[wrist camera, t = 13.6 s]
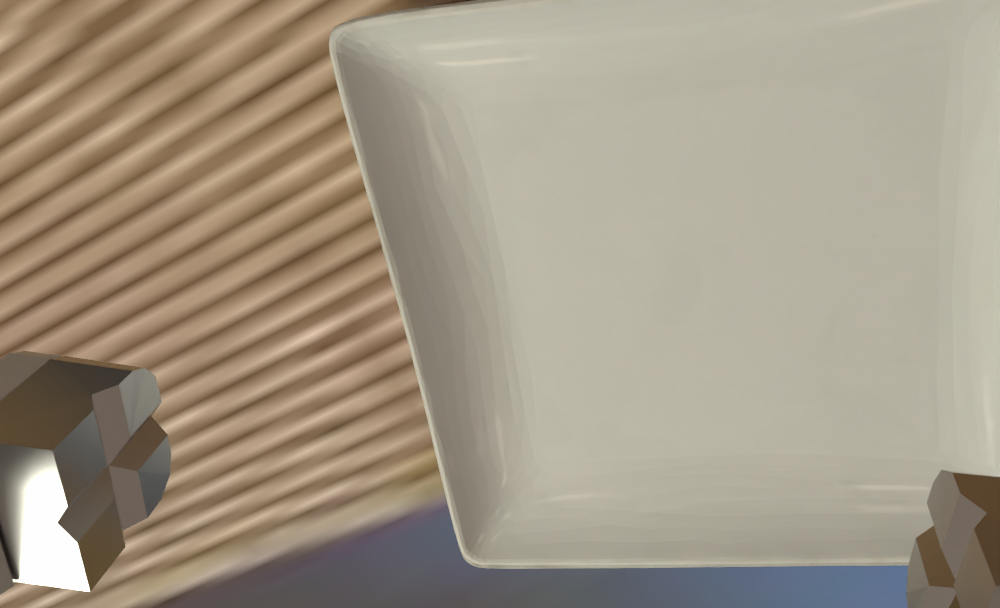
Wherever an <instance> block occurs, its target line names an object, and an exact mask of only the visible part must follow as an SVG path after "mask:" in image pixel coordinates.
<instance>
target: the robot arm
mask: <svg viewBox="0 0 1000 608" xmlns="http://www.w3.org/2000/svg"><path fill="white" fill-rule="evenodd" d="M160 403H161V398H160V394H159V389H158V385H157V381H156V377H155V376H154V375H153V374H152V373H150V372H149V371H148V370H146V369H145V368H141V367H134V366H128V365H121V364H114V363H107V362H101V361H94V360H87V359H81V358H74V357H67V356H63V357H61V356H58V355H52V354H44V353H36V352H29V351H21V352H14V353H9V354H8V355H6V356H5V357H4V358H2V359H1V360H0V594H1V593H3V592H5V591H6V590H8V589H10V588H11V587H13V586H14V582H13V581H15V582H22V583H29V584H37V585H44V586H51V587H59V588H66V589H73V590H80V591H88V592H90V591H91V590H92V589H93V587H94V586H95V585H96V584H97V582H98V581H99V580H100V578H101V577H102V576H103V575H104V573H105V572H106V571H107V569H108V568H109V567H110V566H111V564H112V563H113V562H114V560H115V559H116V558H117V557H118V555H119V554H120V553H121V552H122V550H123V549H124V548H125V541H124V534H123V530H125V529H127V528H129V527H130V526H132V525H134V524H136V523H138V522H140V521H142V520H144V519H146V518H148V517H149V515H150V514H151V512H152V511H153V510H154V508H155V507H156V506H157V504H158V503H159V501H160V500H161V498H162V495H163V492H164V490H165V487H166V484H167V481H168V478H169V475H170V462H171V451H170V445H169V440H168V435H167V434H166V433H165V431H164V430H163V429H162V428H161V427H160V426H159V425H158V423H157V422H156V421H155V420H154V419H153V418H152V415H153V414H154V412H155V411H156V409H157V408H158V406H159V405H160ZM927 505H928V508H929V511H930V515H931V518H932V521H933V524H934V526H932V527H931V528H929V529H928V530H927V531H925V532H924V533H922V534H921V535H919V536H918V537H916V539H915V543H914V546H913V550H912V554H911V557H910V561H909V565H908V578H907V591H906V594H907V604H908V608H1000V476H993V475H984V474H975V473H967V472H958V471H950V470H941V471H940V473H939V474H938V476H937V477H936V479H935V480H934V482H933V485H932V488H931V491H930V494H929V497H928V500H927Z"/></svg>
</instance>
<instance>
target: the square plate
mask: <svg viewBox="0 0 1000 608" xmlns="http://www.w3.org/2000/svg"><path fill="white" fill-rule="evenodd" d="M329 50H330V57H331V61H332V65H333V69H334V73H335V77H336V81H337V85H338V89H339V93H340V97H341V101H342V105H343V109H344V113H345V116H346V120H347V124H348V128H349V131H350V135H351V139H352V142H353V146H354V149H355V153H356V156H357V160H358V163H359V167H360V171H361V174H362V178H363V181H364V185H365V188H366V192H367V195H368V199H369V202H370V205H371V209H372V212H373V216H374V219H375V223H376V226H377V230H378V233H379V237H380V241H381V244H382V248H383V252H384V256H385V259H386V263H387V267H388V271H389V274H390V278H391V281H392V285H393V288H394V292H395V295H396V299H397V302H398V306H399V309H400V313H401V317H402V321H403V324H404V328H405V332H406V335H407V339H408V343H409V346H410V350H411V354H412V359H413V363H414V367H415V371H416V375H417V379H418V383H419V386H420V390H421V394H422V399H423V403H424V407H425V411H426V415H427V419H428V423H429V427H430V432H431V436H432V440H433V444H434V449H435V453H436V457H437V461H438V466H439V470H440V474H441V478H442V482H443V486H444V490H445V494H446V499H447V503H448V507H449V511H450V515H451V519H452V523H453V527H454V531H455V534H456V537H457V541H458V544H459V547H460V550H461V553H462V555H463V557H464V559H465V561H467V562H468V563H470V564H471V565H473V566H476V567H481V568H499V569H542V568H673V567H762V566H849V565H859V566H883V565H909V561H910V557H911V554H912V550H913V546H914V543H915V539H916V537H918V536H919V535H921V534H922V533H924V532H925V531H927V530H928V529H929V528H931V527H932V526H934V524H933V521H932V518H931V515H930V511H929V508H928V505H927V500H928V497H929V494H930V491H931V488H932V485H933V482H934V480H935V479H936V477H937V476H938V474H939V473H940V471H941V470H950V471H958V472H967V473H975V474H984V475H993V476H1000V0H474V1H466V2H459V3H453V4H443V5H435V6H428V7H421V8H412V9H402V10H397V11H391V12H386V13H380V14H375V15H370V16H365V17H360V18H356V19H352V20H349V21H347V22H344V23H342V24H339V25H337V26H336V27H335V28H334V29H333V31H332V32H331V34H330V40H329Z"/></svg>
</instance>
